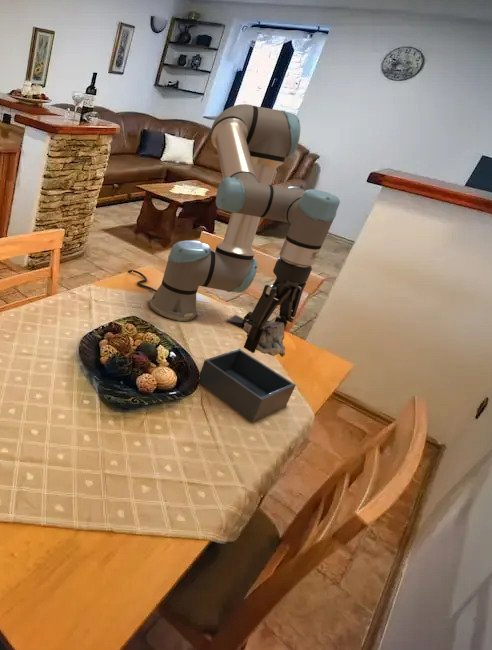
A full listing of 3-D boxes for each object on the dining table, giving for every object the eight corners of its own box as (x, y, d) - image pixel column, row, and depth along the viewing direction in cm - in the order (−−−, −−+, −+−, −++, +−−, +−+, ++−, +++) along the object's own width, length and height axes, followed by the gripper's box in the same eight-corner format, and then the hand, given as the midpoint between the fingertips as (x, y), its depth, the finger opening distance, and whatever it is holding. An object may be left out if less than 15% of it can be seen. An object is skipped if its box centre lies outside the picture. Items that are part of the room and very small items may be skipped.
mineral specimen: (254, 370, 122) (266, 345, 128) (286, 364, 116) (297, 339, 122) (234, 339, 120) (248, 315, 126) (265, 331, 114) (278, 307, 120)
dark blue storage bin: (196, 381, 131) (204, 359, 128) (231, 368, 140) (239, 348, 136) (252, 422, 119) (262, 399, 116) (285, 406, 128) (296, 384, 125)
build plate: (270, 332, 164) (275, 320, 162) (262, 339, 159) (267, 326, 157) (235, 316, 171) (240, 304, 168) (226, 322, 165) (231, 309, 163)
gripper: (283, 273, 103) (246, 363, 114) (335, 263, 116) (298, 345, 126) (253, 259, 108) (220, 346, 119) (306, 250, 121) (273, 330, 131)
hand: (260, 345), depth 122 cm, fingers closed on mineral specimen, 9 cm apart
